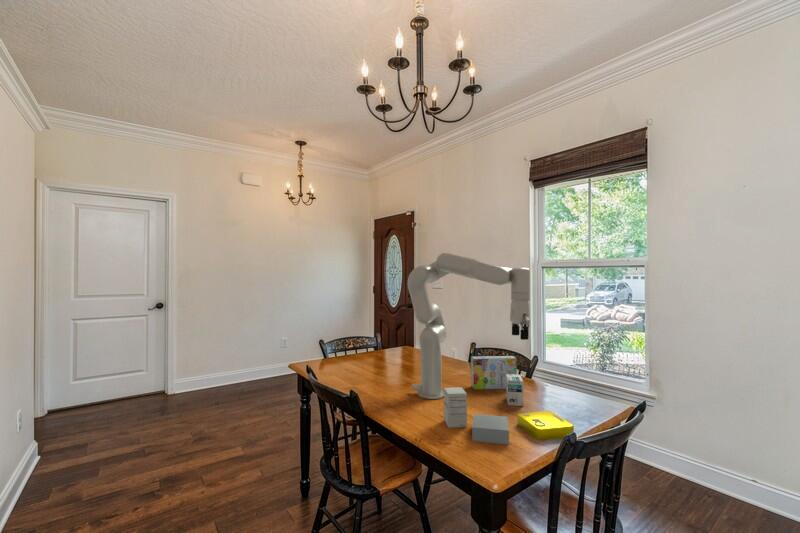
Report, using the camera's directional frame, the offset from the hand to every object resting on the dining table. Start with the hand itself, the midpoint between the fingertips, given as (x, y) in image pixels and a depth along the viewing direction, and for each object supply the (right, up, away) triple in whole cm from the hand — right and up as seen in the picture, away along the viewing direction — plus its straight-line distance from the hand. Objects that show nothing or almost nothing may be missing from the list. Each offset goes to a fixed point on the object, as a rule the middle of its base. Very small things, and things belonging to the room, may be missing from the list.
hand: (519, 337), depth 163 cm
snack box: (-5, -30, +26) cm, 40 cm away
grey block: (-19, -30, -27) cm, 45 cm away
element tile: (+2, -30, -23) cm, 38 cm away
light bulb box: (0, -30, +6) cm, 30 cm away
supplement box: (-30, -30, -18) cm, 46 cm away
